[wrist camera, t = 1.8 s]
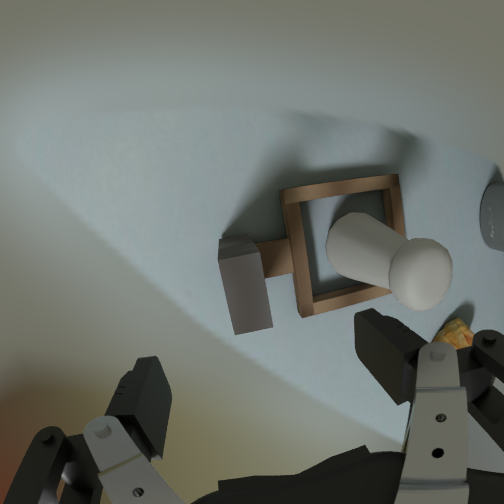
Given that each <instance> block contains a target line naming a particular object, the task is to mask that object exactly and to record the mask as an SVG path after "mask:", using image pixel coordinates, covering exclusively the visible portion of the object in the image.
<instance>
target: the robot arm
mask: <svg viewBox="0 0 504 504" xmlns="http://www.w3.org/2000/svg"><path fill="white" fill-rule="evenodd" d="M480 225H481V231H482V235H483V238H484V241H485V242H486V244H487V245H488V246H489V247H490V248H492V249H496V250H499V251H502V252H504V183H500V182H495V183H492V184H490V185H489V187H488V188H487V189H486V191H485V193H484V196H483V199H482V204H481V211H480ZM354 331H355V350H356V353H357V356H358V358H359V359H360V361H361V362H362V363H363V364H364V365H365V367H366V368H367V369H368V370H369V372H370V373H371V374H372V375H373V376H374V378H375V379H376V380H377V381H378V382H379V384H380V385H381V386H382V387H383V388H384V390H385V391H386V392H387V393H388V395H389V396H390V397H391V398H392V399H393V401H394V402H395V403H396V404H397V406H398V405H400V404H402V403H404V402H406V401H409V402H410V403H411V404H410V409H409V414H408V420H407V426H406V431H405V436H404V441H403V445H402V449H401V452H393V451H387V452H386V451H382V452H373V453H370V452H369V451H368V449H367V448H366V446H365V445H363V446H360V447H358V448H355V449H352V450H350V451H347V452H344V453H341V454H338V455H335V456H332V457H330V458H328V459H326V460H324V461H323V462H321V463H319V464H317V465H315V466H313V467H311V468H309V469H307V470H305V471H303V472H301V473H299V474H295V475H282V476H281V475H280V476H249V477H243V478H236V479H228V480H220V481H218V488H219V490H218V491H215V492H212V493H210V494H207V495H205V496H203V497H201V498H199V499H198V500H196V501H194V502H193V503H191V504H504V473H496V472H488V471H482V470H476V469H470V468H467V456H468V412H469V413H470V414H471V416H472V417H473V418H474V419H475V420H476V421H477V422H478V423H479V424H480V425H481V427H482V428H483V429H484V430H485V431H486V432H487V433H488V434H489V435H490V437H491V438H492V439H493V440H494V441H495V442H496V443H497V445H498V446H499V447H500V448H501V449H502V450H503V451H504V395H503V394H502V393H501V392H500V391H499V390H498V389H496V388H495V387H494V386H493V383H494V380H495V377H497V378H498V379H499V380H500V381H502V382H503V383H504V335H503V334H501V333H500V332H497V331H494V330H482V331H479V332H477V333H476V334H475V335H474V336H473V340H472V345H471V346H468V347H464V348H461V349H457V350H456V349H455V348H454V347H453V346H452V345H450V344H448V343H445V342H431V343H428V342H427V341H426V340H424V339H423V338H422V337H420V336H419V335H418V334H416V333H415V332H414V331H412V330H410V328H408V327H407V326H406V325H405V326H404V324H403V323H402V322H400V321H399V320H398V319H396V318H393V317H389V316H383V315H381V314H380V313H379V312H377V311H376V310H375V309H373V308H370V309H367V310H364V311H361V312H357V313H355V315H354ZM171 402H172V393H171V389H170V386H169V383H168V381H167V378H166V376H165V374H164V371H163V369H162V366H161V364H160V361H159V360H158V357H156V356H151V357H143V358H138V359H137V361H136V364H135V366H134V368H133V370H132V371H128V372H127V373H126V374H125V375H124V376H123V377H122V378H121V380H120V382H119V384H118V386H117V389H116V391H115V393H114V395H113V397H112V400H111V402H110V404H109V406H108V408H107V411H106V413H105V415H104V416H101V417H98V418H95V419H94V420H92V421H91V422H89V423H88V424H87V425H86V427H85V429H84V432H83V434H78V435H73V436H68V437H67V436H66V435H65V434H64V432H63V431H62V430H61V429H60V428H59V427H55V426H50V427H46V428H44V429H42V430H40V431H39V432H38V433H37V434H36V435H35V437H34V438H33V440H32V442H31V444H30V446H29V448H28V450H27V452H26V454H25V456H24V458H23V460H22V462H21V464H20V466H19V469H18V471H17V473H16V475H15V477H14V479H13V482H12V484H11V486H10V488H9V491H8V493H7V496H6V498H5V501H4V503H3V504H100V499H101V494H102V489H103V488H104V489H105V491H106V492H107V494H108V496H109V498H110V500H111V501H112V503H113V504H185V502H184V501H183V500H182V499H181V498H180V497H179V496H178V495H177V494H176V493H175V492H174V491H173V489H172V488H171V487H170V486H169V485H168V484H167V483H166V482H165V481H164V479H163V478H162V477H161V476H160V475H159V473H158V472H157V471H156V470H155V469H154V467H153V466H152V465H151V464H150V462H151V460H161V459H162V456H163V449H164V444H165V438H166V431H167V425H168V419H169V413H170V407H171ZM61 478H62V479H63V480H64V481H65V486H64V489H63V492H62V495H61V499H60V502H59V501H58V500H57V496H56V491H57V488H58V485H59V482H60V479H61Z"/></svg>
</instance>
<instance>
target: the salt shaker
mask: <svg viewBox="0 0 504 504" xmlns="http://www.w3.org/2000/svg"><path fill="white" fill-rule="evenodd" d="M325 246H326V253H327V259H328V261H329V262H330V263H331V265H332V266H333V268H334V269H335V270H336V272H337V273H339V274H341V275H343V276H345V277H347V278H350V279H354V280H358V281H361V282H365V283H368V284H372V285H376V286H379V287H383V288H387V289H390V290H391V291H392V293H393V295H394V297H395V298H396V300H397V301H398V302H399V303H401V304H402V305H404V306H406V307H408V308H410V309H412V310H415V311H418V312H420V311H425V310H430V309H431V308H432V307H434V306H435V305H437V304H438V303H439V302H441V301H442V299H443V298H444V296H445V295H446V293H447V292H448V290H449V287H450V284H451V281H452V260H451V257H450V254H449V252H448V250H447V249H446V248H445V247H443V246H442V245H441V244H440V243H438V242H436V241H435V240H433V239H426V238H414V239H412V240H410V241H409V240H408V239H406V238H405V237H403V236H402V235H400V234H399V233H397V232H396V231H394V230H392V229H391V228H389V227H388V226H386V225H384V224H383V223H381V222H380V221H378V220H376V219H375V218H373V217H371V216H370V215H368V214H366V213H355V212H352V213H349V214H347V215H345V216H343V217H341V218H340V219H338V220H337V221H336V222H335V224H334V225H333V226H332V227H331V229H330V230H329V231H328V236H327V241H326V245H325Z"/></svg>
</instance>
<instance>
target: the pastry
mask: <svg viewBox="0 0 504 504" xmlns="http://www.w3.org/2000/svg"><path fill="white" fill-rule="evenodd" d="M473 336H474V333H473V332H472V331H471V330H470V328H469V327H468V326H467V325H466V324H465V323H464V322H463V321H462V320H461V318H459V317H458V318H455V319H454V320H452V321H449V322H448V323H446V324H445V325H444V328H443V329H442V330H441V331H439V332H438V333H437V335H436V336H435V338H434V340H433V341H432V342H445V343H448V344H450V345H452V346H453V347H454V348H455V349H456V350H457V349H461V348H464V347H468V346H471V345H472V340H473Z"/></svg>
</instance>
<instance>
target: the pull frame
mask: <svg viewBox="0 0 504 504" xmlns="http://www.w3.org/2000/svg"><path fill="white" fill-rule="evenodd" d="M378 189H382V193H383V201H384V209H385V219H386V226H388V227H389V228H391V229H392V230H394V231H396V232H397V233H399V234H400V235H402V236H403V237H405V233H404V220H403V209H402V200H401V192H400V184H399V177H398V174H391V175H381V176H373V177H364V178H356V179H348V180H341V181H334V182H327V183H320V184H313V185H307V186H300V187H294V188H288V189H282V190H279V194H280V200H281V206H282V211H283V217H284V223H285V229H286V235H287V238H282V239H277V240H272V241H267V242H262V243H257V244H254V242H253V241H252V239H251V238H250V236H249V235H248V234H243V235H238V236H233V237H228V238H223V239H219V249H218V263H219V268H220V272H221V277H222V281H223V286H224V290H225V295H226V299H227V304H228V308H229V312H230V316H231V321H232V325H233V329H234V333H235V335H238V334H243V333H248V332H253V331H258V330H262V329H267V328H271V327H273V323H272V317H271V311H270V306H269V300H268V295H267V289H266V283H265V278H270V277H274V276H279V275H284V274H288V273H292V274H293V281H294V287H295V294H296V302H297V309H298V313H299V314H300V316H301V317H302V318H304V317H308V316H312V315H316V314H320V313H324V312H328V311H332V310H335V309H339V308H343V307H346V306H350V305H353V304H357V303H360V302H364V301H367V300H371V299H374V298H377V297H381V296H384V295H387V294H390V293H392V291H391V290H390V289H387V288H383V287H379V286H376V285H372V284H368V283H363V284H359V285H356V286H352V287H348V288H344V289H340V290H336V291H332V292H328V293H324V294H320V295H316V296H312V289H311V281H310V273H309V265H308V258H307V251H306V244H305V237H304V230H303V224H302V217H301V211H300V205H299V202H301V201H307V200H313V199H319V198H325V197H331V196H338V195H344V194H351V193H358V192H364V191H371V190H378Z"/></svg>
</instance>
